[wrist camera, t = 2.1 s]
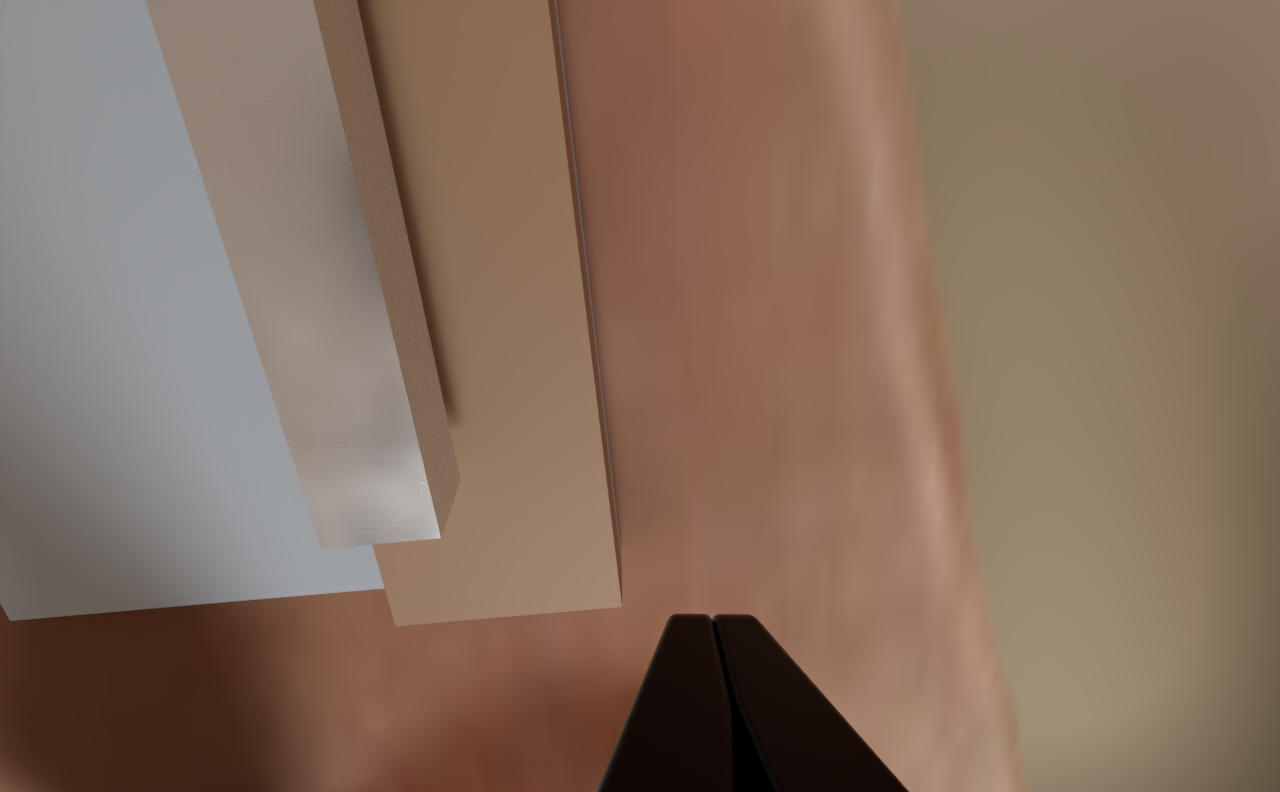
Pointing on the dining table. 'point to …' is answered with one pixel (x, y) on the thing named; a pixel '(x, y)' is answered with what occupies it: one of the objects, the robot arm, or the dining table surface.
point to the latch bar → (318, 254)
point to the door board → (226, 351)
